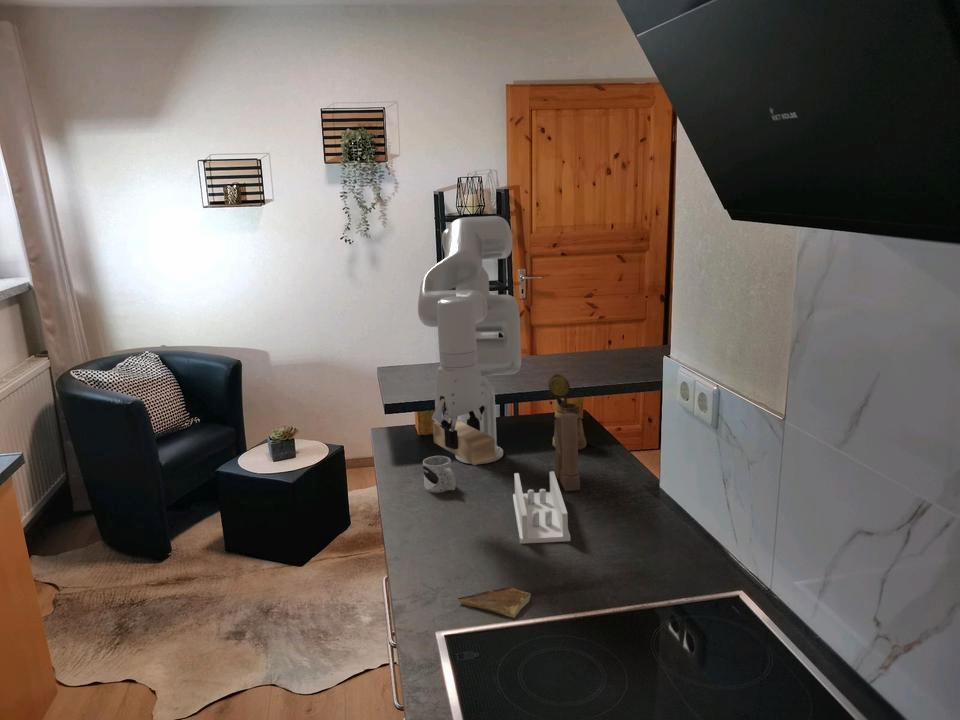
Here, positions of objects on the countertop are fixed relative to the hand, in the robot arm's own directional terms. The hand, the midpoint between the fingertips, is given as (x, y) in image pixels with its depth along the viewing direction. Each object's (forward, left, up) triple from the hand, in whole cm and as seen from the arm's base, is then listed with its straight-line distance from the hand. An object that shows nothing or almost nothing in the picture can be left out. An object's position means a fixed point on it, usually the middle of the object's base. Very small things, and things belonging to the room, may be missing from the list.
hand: (463, 442), depth 154 cm
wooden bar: (0, 0, -2) cm, 2 cm away
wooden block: (+3, +31, -19) cm, 36 cm away
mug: (-18, +10, -19) cm, 27 cm away
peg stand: (+10, +12, -18) cm, 24 cm away
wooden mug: (-14, +53, -19) cm, 57 cm away
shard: (+26, -19, -19) cm, 38 cm away
